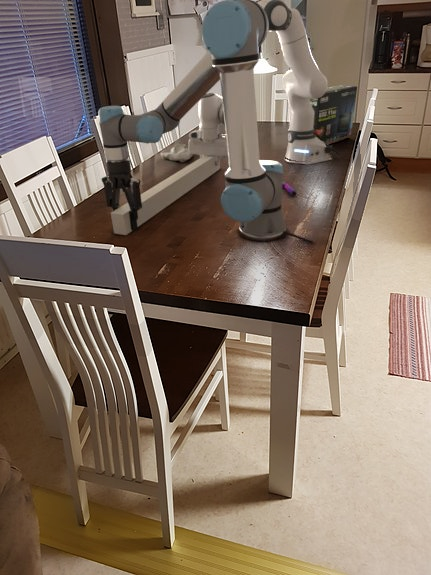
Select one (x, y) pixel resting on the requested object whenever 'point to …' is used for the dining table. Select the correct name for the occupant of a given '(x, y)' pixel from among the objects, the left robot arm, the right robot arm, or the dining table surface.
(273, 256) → the dining table surface
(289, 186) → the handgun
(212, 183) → the dining table surface
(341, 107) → the router box
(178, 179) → the post
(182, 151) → the fossil
